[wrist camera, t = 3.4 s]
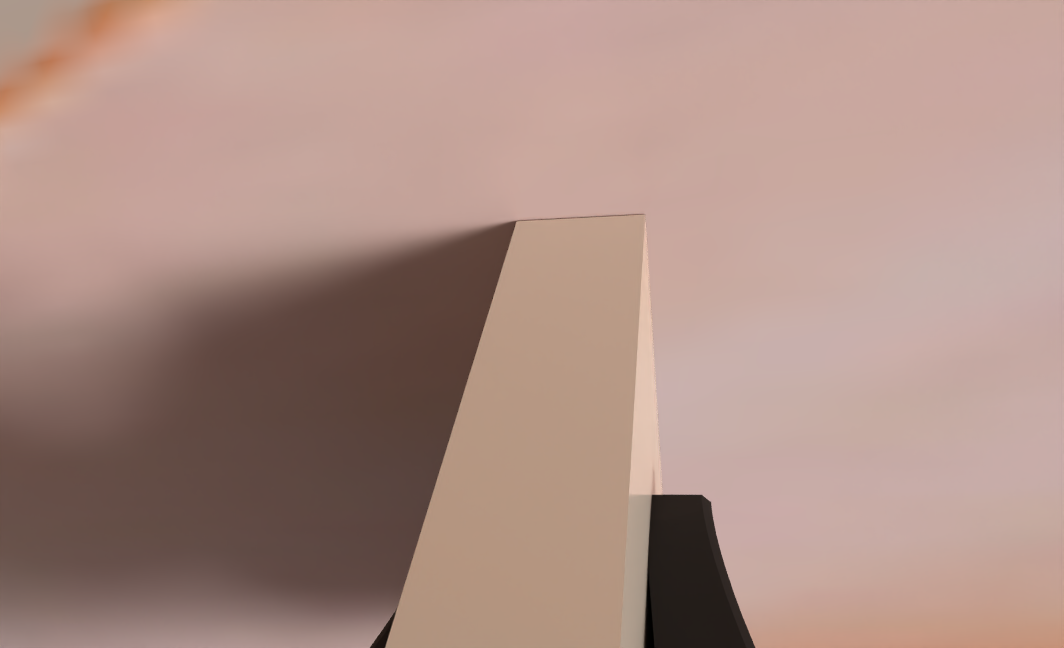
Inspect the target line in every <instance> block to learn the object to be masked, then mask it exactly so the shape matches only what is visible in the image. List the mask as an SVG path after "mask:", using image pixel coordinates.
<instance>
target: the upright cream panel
mask: <svg viewBox="0 0 1064 648" xmlns="http://www.w3.org/2000/svg"><path fill="white" fill-rule="evenodd" d="M652 495H663V492H662V476H661V460H660V444H659V428H658V412H657V396H656V380H655V364H654V347H653V331H652V315H651V299H650V283H649V267H648V251H647V235H646V219H645V215H626V216H607V217H588V218H569V219H549V220H530V221H517V222H516V225H515V228H514V232H513V235H512V238H511V241H510V245H509V248H508V251H507V254H506V258H505V261H504V264H503V267H502V271H501V274H500V277H499V280H498V283H497V287H496V290H495V293H494V296H493V300H492V303H491V306H490V309H489V313H488V316H487V319H486V322H485V326H484V329H483V332H482V335H481V339H480V342H479V345H478V348H477V352H476V355H475V358H474V361H473V365H472V368H471V371H470V374H469V378H468V381H467V384H466V387H465V390H464V394H463V397H462V400H461V403H460V407H459V410H458V413H457V416H456V420H455V423H454V426H453V429H452V433H451V436H450V439H449V442H448V446H447V449H446V452H445V455H444V459H443V462H442V465H441V468H440V472H439V475H438V478H437V481H436V485H435V488H434V491H433V494H432V498H431V501H430V504H429V507H428V510H427V514H426V517H425V520H424V523H423V527H422V530H421V533H420V536H419V540H418V543H417V546H416V549H415V553H414V556H413V559H412V562H411V566H410V569H409V572H408V575H407V579H406V582H405V585H404V588H403V592H402V595H401V598H400V601H399V605H398V608H397V611H396V614H395V617H394V621H393V624H392V627H391V630H390V634H389V637H388V640H387V643H386V647H385V648H655V647H654V635H653V622H652V610H651V597H650V585H649V572H648V546H649V529H650V513H651V500H652Z"/></svg>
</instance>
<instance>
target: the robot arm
mask: <svg viewBox="0 0 1064 648" xmlns="http://www.w3.org/2000/svg"><path fill="white" fill-rule="evenodd" d="M648 572H649V585H650V597H651V610H652V622H653V635H654V647H655V648H755V646H754V644H753V641H752V639H751V636H750V634H749V631H748V629H747V626H746V624H745V622H744V619H743V617H742V614H741V611H740V609H739V606H738V603H737V601H736V598H735V595H734V592H733V589H732V586H731V583H730V580H729V577H728V574H727V571H726V568H725V565H724V562H723V558H722V555H721V551H720V548H719V544H718V540H717V536H716V531H715V526H714V521H713V516H712V508H711V502H710V501H709V500H707V499H706V498H705V497H704V496H702V495H652V500H651V513H650V529H649V546H648ZM396 611H397V610H396ZM396 611H395V612H394V614H393V615H392V617H391V618H390V620H389V621H388V623H387V624H386V626H385V627H384V629H383V630H382V631H381V633H380V634H379V636H378V637H377V639H376V640H375V641H374V643H373V644H372V646H371V647H370V648H385V647H386V643H387V640H388V637H389V634H390V630H391V627H392V624H393V621H394V617H395V614H396Z"/></svg>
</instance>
